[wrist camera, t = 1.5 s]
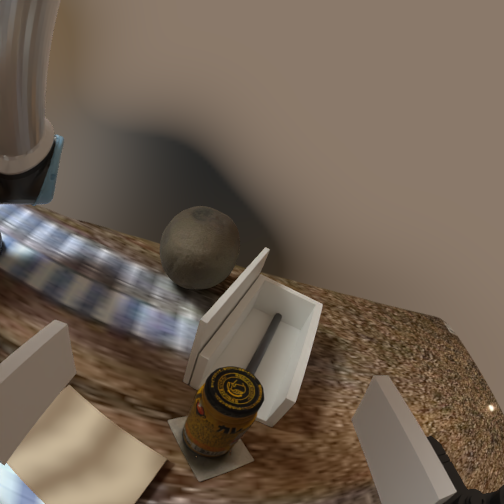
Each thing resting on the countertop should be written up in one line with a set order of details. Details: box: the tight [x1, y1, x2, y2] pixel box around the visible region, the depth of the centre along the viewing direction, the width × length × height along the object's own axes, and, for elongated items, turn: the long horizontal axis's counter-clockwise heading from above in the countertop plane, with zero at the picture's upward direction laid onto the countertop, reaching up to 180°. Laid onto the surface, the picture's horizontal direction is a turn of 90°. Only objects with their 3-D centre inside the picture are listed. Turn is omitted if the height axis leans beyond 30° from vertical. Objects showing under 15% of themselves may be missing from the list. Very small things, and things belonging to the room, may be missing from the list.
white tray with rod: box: [183, 248, 323, 427], centre depth 38 cm, size 13×22×12 cm, turn 159°
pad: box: [7, 385, 167, 504], centre depth 17 cm, size 14×14×1 cm
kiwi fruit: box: [160, 206, 240, 289], centre depth 48 cm, size 14×14×15 cm
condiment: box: [167, 366, 264, 482], centre depth 23 cm, size 7×8×12 cm
